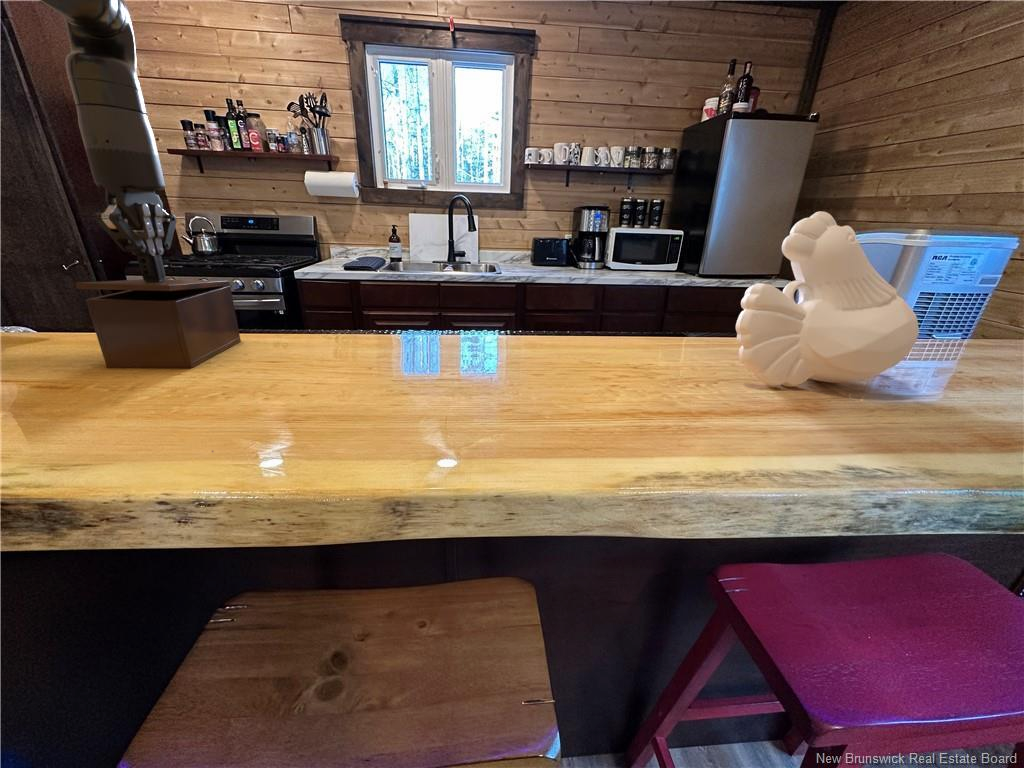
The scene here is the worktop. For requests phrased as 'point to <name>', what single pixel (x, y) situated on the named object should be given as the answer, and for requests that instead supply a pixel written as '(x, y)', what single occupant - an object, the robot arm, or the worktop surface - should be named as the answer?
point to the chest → (164, 326)
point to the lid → (152, 285)
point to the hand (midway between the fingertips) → (155, 281)
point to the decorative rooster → (824, 313)
